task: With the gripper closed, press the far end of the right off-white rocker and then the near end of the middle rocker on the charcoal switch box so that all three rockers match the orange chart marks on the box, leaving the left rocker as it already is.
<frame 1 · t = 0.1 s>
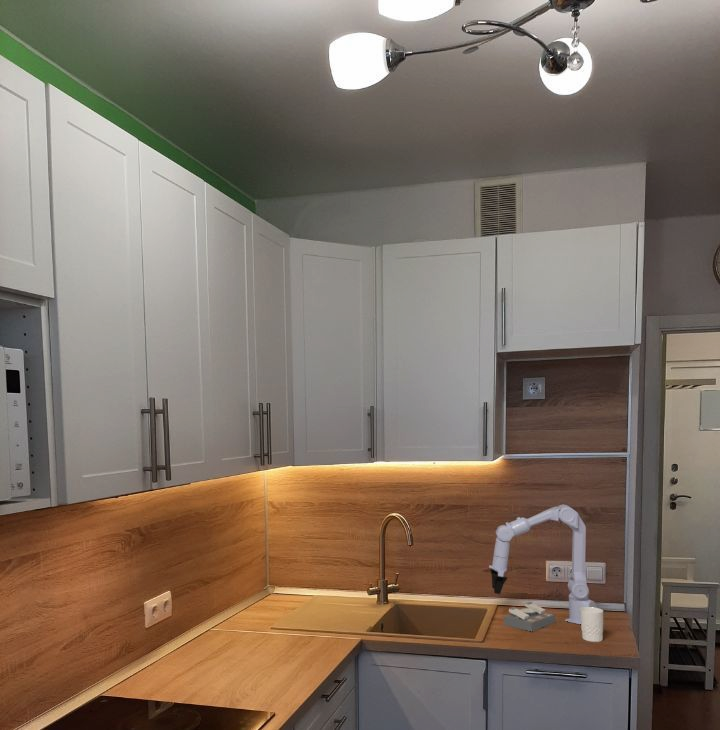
hand: (496, 591, 256), 11 cm above the worktop, tool pointing down, fingers open, 7 cm apart
white cup: (592, 639, 229), on the worktop
left rocker: (519, 613, 245), point 5 cm above the worktop, hinge at -14.0°
right rocker: (535, 607, 252), point 5 cm above the worktop, hinge at -14.0°
switch box: (529, 624, 247), on the worktop
middle rocker: (527, 610, 249), point 5 cm above the worktop, hinge at 14.0°
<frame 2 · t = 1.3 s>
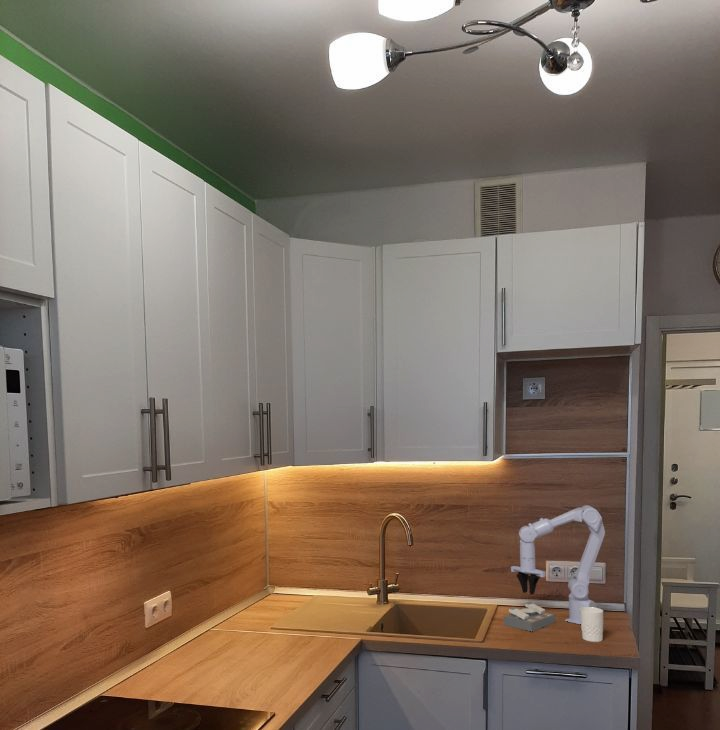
hand: (528, 593, 255), 10 cm above the worktop, tool pointing down, fingers open, 3 cm apart
nothing on the worktop moved.
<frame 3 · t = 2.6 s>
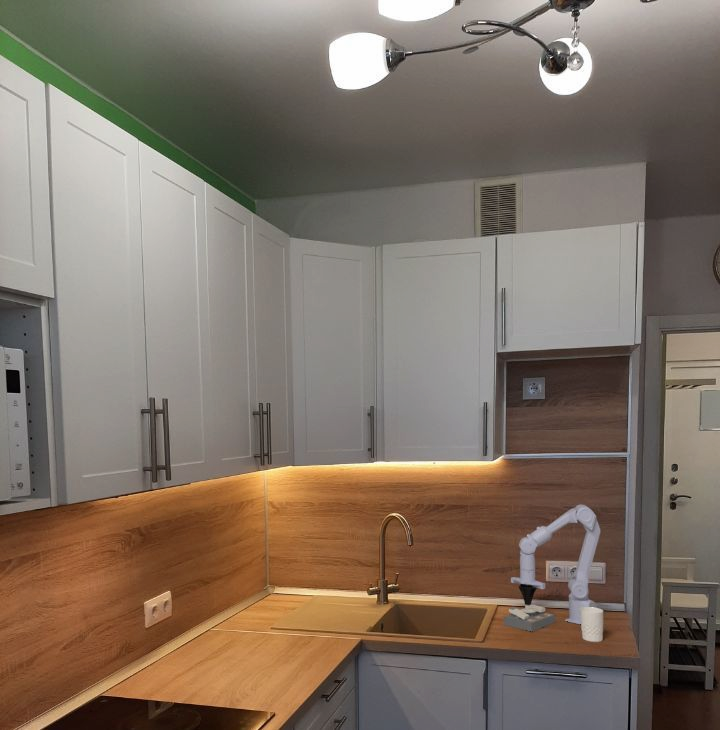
hand: (528, 604, 254), 5 cm above the worktop, tool pointing down, fingers closed, pressing on right rocker
right rocker: (535, 607, 252), point 5 cm above the worktop, hinge at -2.0°, touching gripper
everything else where it was.
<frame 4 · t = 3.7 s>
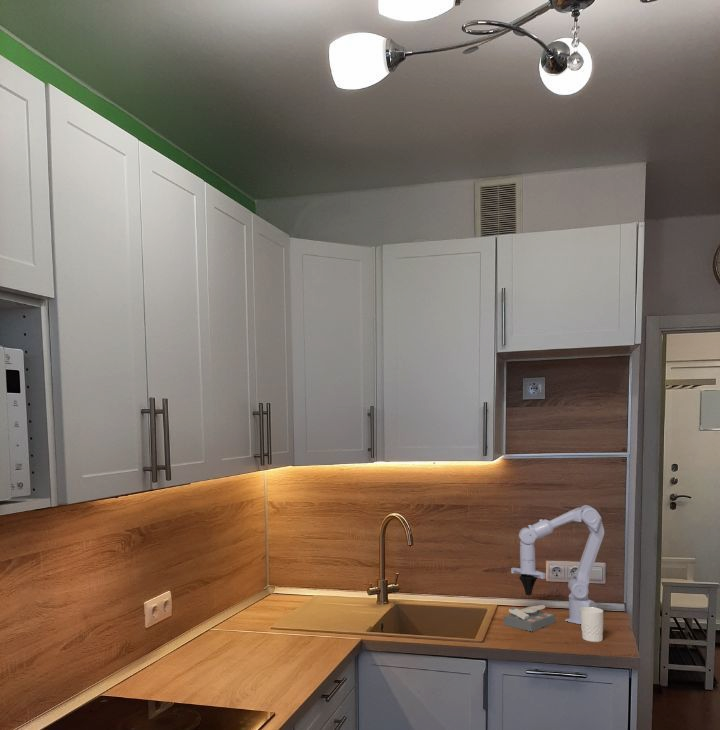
hand: (528, 594, 255), 9 cm above the worktop, tool pointing down, fingers closed
right rocker: (535, 607, 252), point 5 cm above the worktop, hinge at 16.0°
everything else where it was.
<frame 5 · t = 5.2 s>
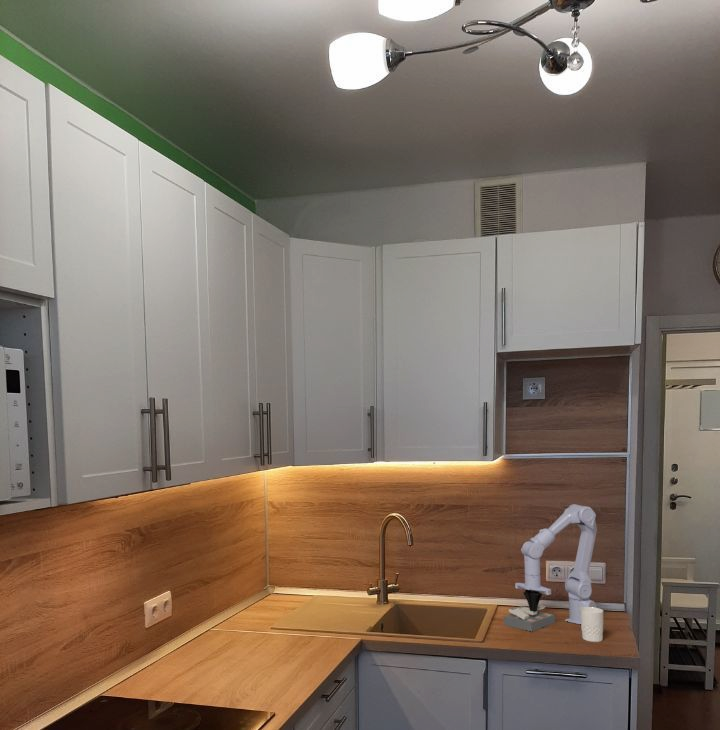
hand: (533, 611, 246), 5 cm above the worktop, tool pointing down, fingers closed, pressing on middle rocker
middle rocker: (527, 610, 248), point 5 cm above the worktop, hinge at -2.4°, touching gripper
everything else where it was.
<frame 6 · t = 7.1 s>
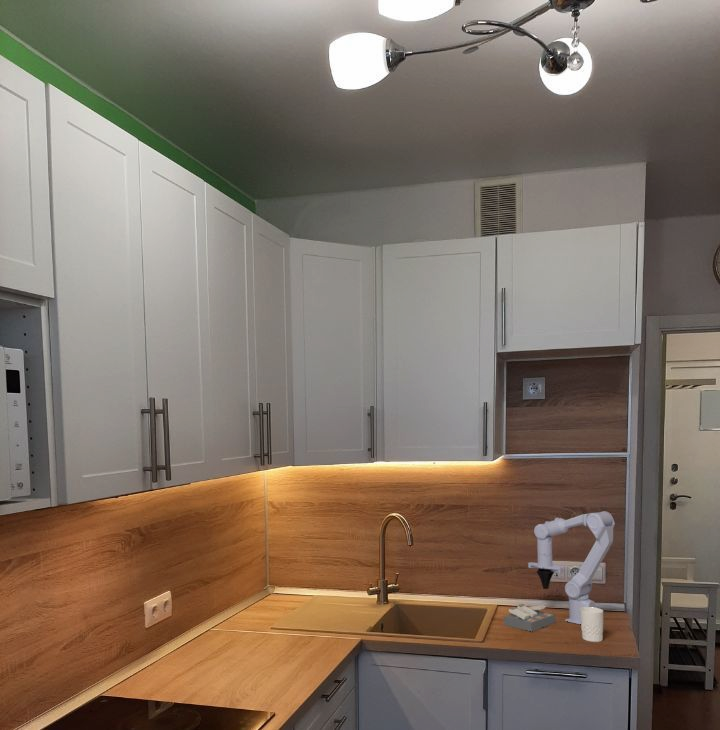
hand: (545, 588, 262), 10 cm above the worktop, tool pointing down, fingers closed
middle rocker: (527, 610, 248), point 5 cm above the worktop, hinge at -16.5°
everything else where it was.
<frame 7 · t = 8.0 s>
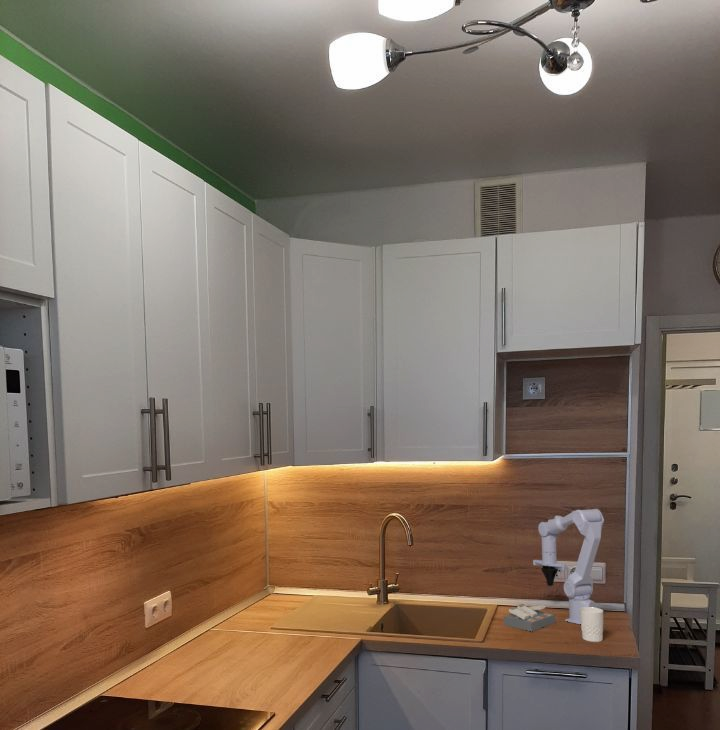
hand: (550, 585, 267), 10 cm above the worktop, tool pointing down, fingers closed
nothing on the worktop moved.
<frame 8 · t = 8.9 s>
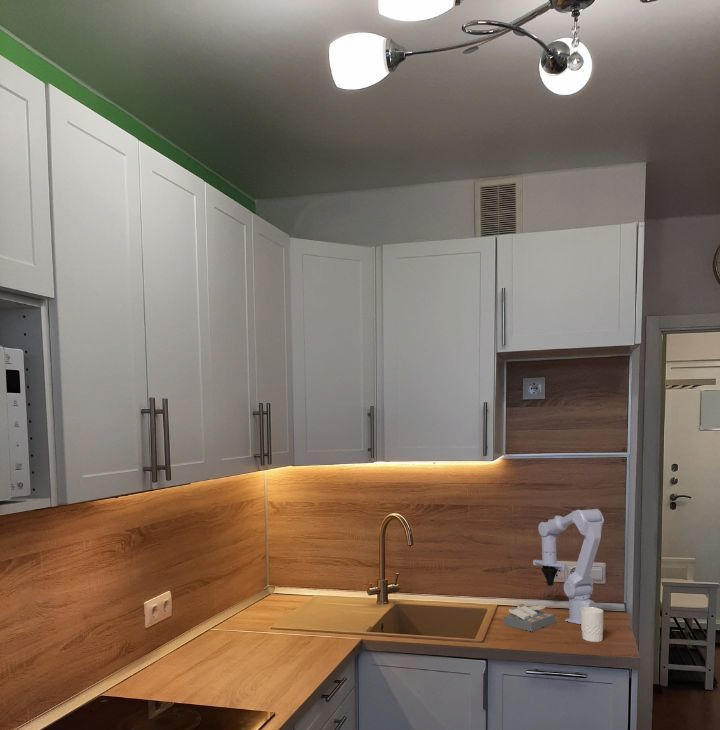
hand: (550, 585, 267), 10 cm above the worktop, tool pointing down, fingers closed
nothing on the worktop moved.
at the end: right rocker at +16° (first picture: -14°); middle rocker at -16° (first picture: +14°); left rocker at -14° (first picture: -14°) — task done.
